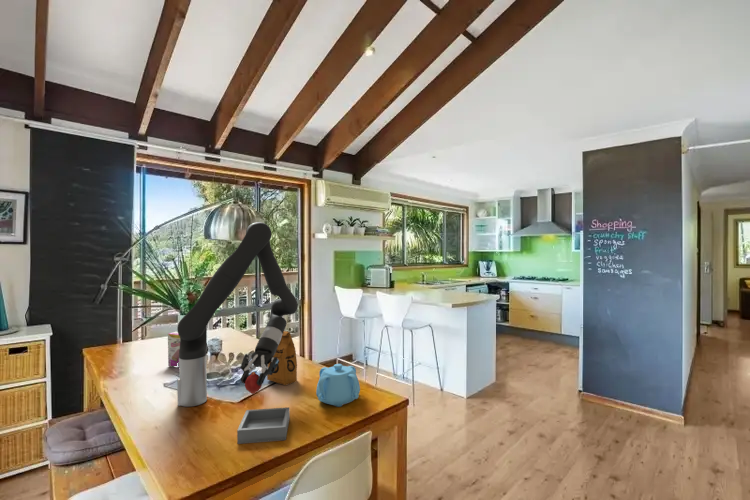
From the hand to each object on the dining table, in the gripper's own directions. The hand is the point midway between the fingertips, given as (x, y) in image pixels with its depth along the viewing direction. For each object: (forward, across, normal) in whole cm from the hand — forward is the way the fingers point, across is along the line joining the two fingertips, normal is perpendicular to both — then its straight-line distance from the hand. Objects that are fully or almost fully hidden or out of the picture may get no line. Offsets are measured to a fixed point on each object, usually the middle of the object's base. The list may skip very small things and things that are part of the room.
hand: (250, 383), depth 134 cm
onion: (+2, 0, +4) cm, 5 cm away
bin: (+14, +12, 0) cm, 19 cm away
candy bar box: (-17, -63, +32) cm, 73 cm away
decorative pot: (-5, +26, +20) cm, 33 cm away
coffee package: (-14, -5, +29) cm, 32 cm away
